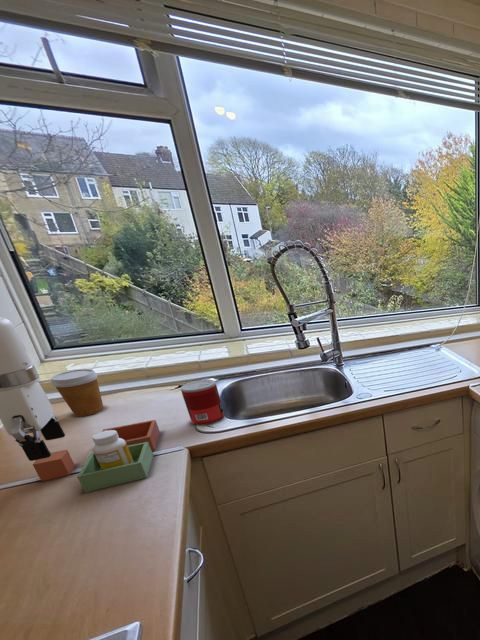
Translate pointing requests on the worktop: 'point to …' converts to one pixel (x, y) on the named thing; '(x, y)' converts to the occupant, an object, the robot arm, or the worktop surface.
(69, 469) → the terracotta block
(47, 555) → the worktop surface
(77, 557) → the worktop surface
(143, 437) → the terracotta bin
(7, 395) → the robot arm
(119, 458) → the supplement bottle
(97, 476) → the green bin
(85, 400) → the disposable coffee cup
